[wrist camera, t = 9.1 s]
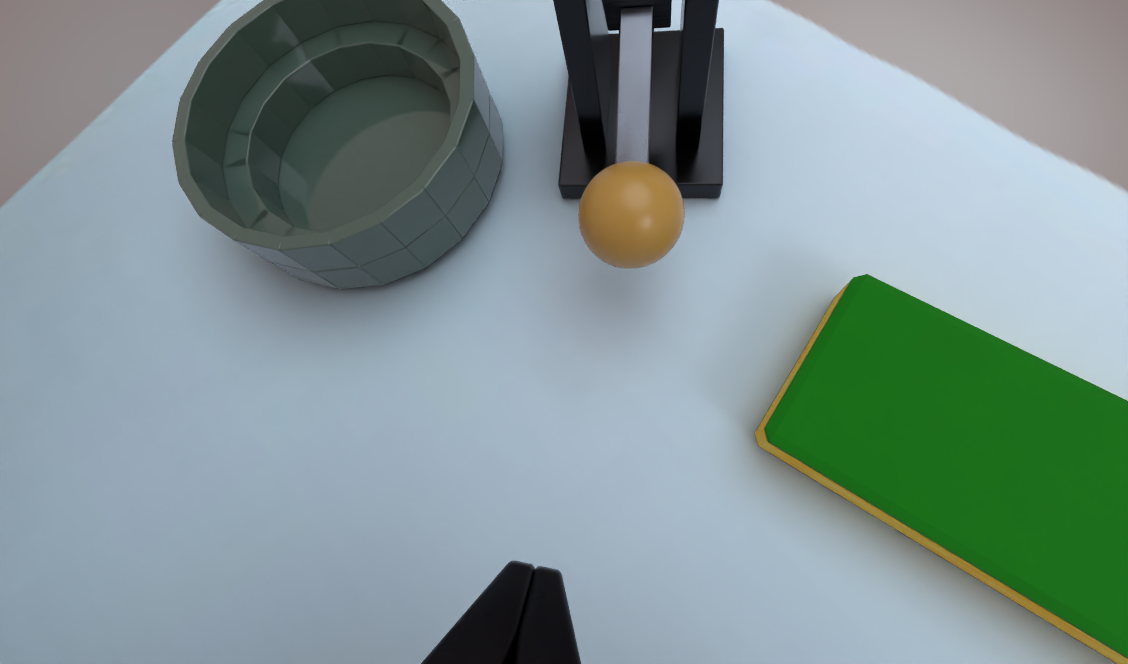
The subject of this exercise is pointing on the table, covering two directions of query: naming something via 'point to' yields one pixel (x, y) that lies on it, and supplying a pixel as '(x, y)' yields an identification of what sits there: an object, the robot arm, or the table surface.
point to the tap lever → (632, 154)
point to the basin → (340, 137)
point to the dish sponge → (967, 453)
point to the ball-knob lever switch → (678, 104)
